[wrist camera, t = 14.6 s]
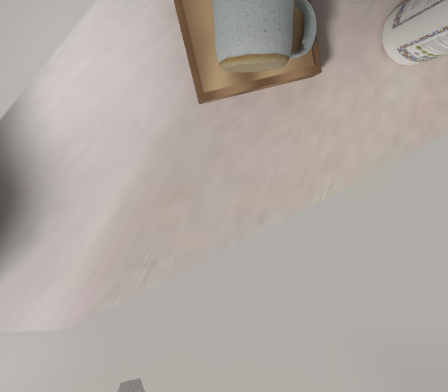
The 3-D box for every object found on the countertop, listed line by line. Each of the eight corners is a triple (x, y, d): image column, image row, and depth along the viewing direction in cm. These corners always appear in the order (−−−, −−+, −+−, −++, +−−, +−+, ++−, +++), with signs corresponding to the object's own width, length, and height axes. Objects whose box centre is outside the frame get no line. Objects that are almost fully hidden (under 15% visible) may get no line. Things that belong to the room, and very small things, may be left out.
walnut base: (199, 104, 38) (198, 101, 34) (172, -5, 35) (169, -18, 32) (313, 76, 38) (322, 71, 34) (294, -34, 35) (303, -51, 32)
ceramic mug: (215, 78, 34) (219, 63, 26) (209, -7, 32) (211, -48, 25) (311, 72, 35) (342, 55, 27) (311, -11, 33) (343, -53, 25)
